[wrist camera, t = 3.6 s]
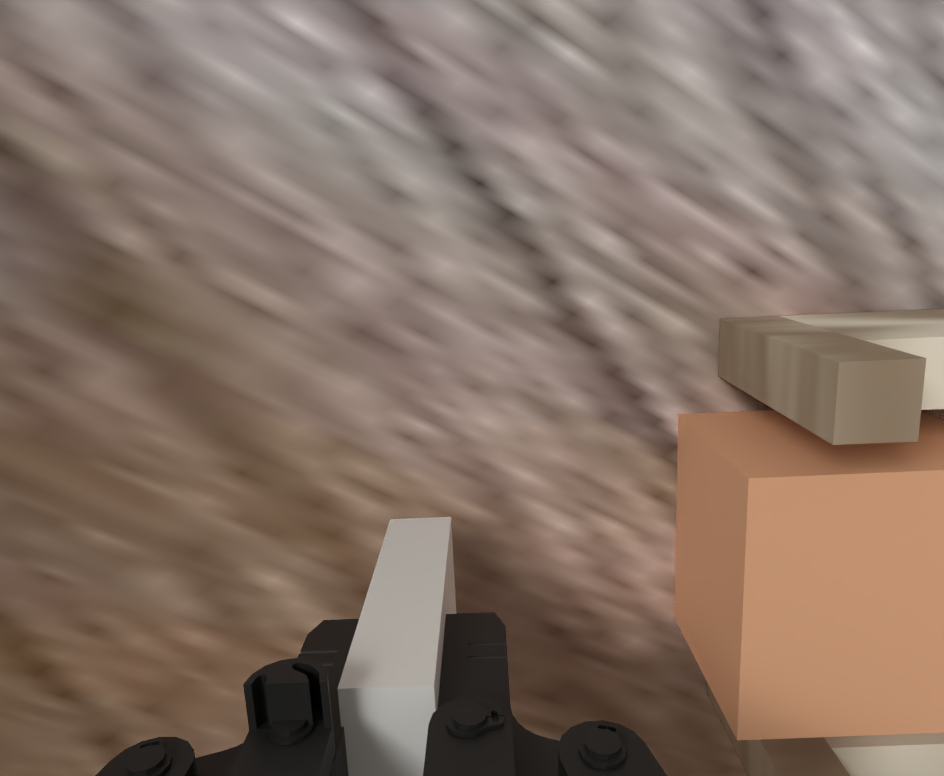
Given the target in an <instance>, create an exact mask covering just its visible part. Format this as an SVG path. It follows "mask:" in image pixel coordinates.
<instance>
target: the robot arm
mask: <svg viewBox="0 0 944 776" xmlns="http://www.w3.org/2000/svg"><path fill="white" fill-rule="evenodd" d="M244 693H245V700H246V708H247V716H248V723H249V733H248V735H247V737H246V739H245V741H244V743H242V744H240V745H239V746H236V747H233V748H230V749H228V750H225V751H221V752H217V753H214V754H210V755H206V756H202V757H198V758H195V754H194V749H193V748H192V747H191V745H190V744H189V743H188V741H185V740H183V739H180V738H177V737H158V738H154V739H150V740H146V741H142V742H140V743H138V744H136V745H134V746H132V747H130V748H128V749H125V750H124V751H123V752H121V753H120V754H119V755H117V756H116V757H115V758H114V759H112V760H111V761H110V762H109V763H108V764H107V765H106V766H105V767H104V768H103V769H102V770H101V771H100V772H99V773H98V774H97V775H96V776H667V775H666V774H665V772H664V771H663V769H662V768H661V766H660V765H659V763H658V762H657V760H656V759H655V757H654V756H653V754H652V753H651V751H650V750H649V748H648V747H647V746H646V744H645V743H644V741H643V740H642V739H641V738H640V737H639V736H638V735H637V734H636V733H635V732H634V731H632V730H630V729H628V728H626V727H624V726H622V725H620V724H616V723H611V722H606V721H588V722H584V723H581V724H578V725H576V726H573V727H571V728H570V729H569V730H568V731H567V732H566V733H565V734H563V735H562V737H561V740H560V741H557V740H552V739H548V738H545V737H541V736H538V735H535V734H533V733H532V732H530V731H528V730H526V729H525V728H523V727H522V726H521V725H520V724H519V723H518V722H517V721H516V719H515V718H514V716H513V715H512V711H511V707H510V695H509V679H508V663H507V648H506V632H505V625H504V624H503V623H502V622H501V620H500V619H499V618H498V617H497V615H496V614H495V613H465V614H456V597H455V579H454V561H453V542H452V524H451V517H437V518H410V519H390V522H389V525H388V528H387V532H386V535H385V538H384V541H383V544H382V548H381V551H380V554H379V557H378V560H377V564H376V567H375V570H374V573H373V576H372V580H371V583H370V586H369V589H368V592H367V596H366V599H365V602H364V605H363V608H362V612H361V615H360V618H359V619H345V620H323V621H322V622H321V623H320V624H319V625H318V626H317V627H316V628H314V629H313V630H312V631H311V632H310V633H309V634H308V635H307V637H306V640H305V642H304V644H303V647H302V649H301V654H299V656H298V658H294V659H287V660H281V661H278V662H275V663H272V664H269V665H267V666H264V667H263V668H261V669H260V670H258V671H257V672H255V673H253V674H252V675H251V676H250V677H249V679H248V680H247V681H246V682H245V683H244Z"/></svg>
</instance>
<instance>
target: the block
mask: <svg viewBox="0 0 944 776" xmlns="http://www.w3.org/2000/svg"><path fill="white" fill-rule="evenodd" d="M674 618H675V620H676V622H677V624H678V626H679V628H680V630H681V632H682V634H683V636H684V638H685V640H686V642H687V644H688V646H689V648H690V650H691V652H692V654H693V656H694V657H695V659H696V661H697V663H698V665H699V667H700V669H701V671H702V673H703V675H704V677H705V679H706V681H707V683H708V685H709V687H710V689H711V691H712V693H713V694H714V696H715V698H716V700H717V702H718V704H719V706H720V708H721V710H722V712H723V714H724V716H725V718H726V720H727V722H728V724H729V726H730V728H731V730H732V732H733V733H734V735H735V737H736V739H737V740H762V739H789V738H815V737H841V736H868V735H894V734H921V733H944V419H941V418H939V417H936V416H934V415H931V414H929V413H926V412H924V411H922V410H921V417H920V427H919V437H918V441H917V442H893V443H869V444H845V445H832V444H831V443H829V442H827V441H826V440H824V439H822V438H821V437H819V436H817V435H816V434H814V433H812V432H811V431H809V430H807V429H806V428H804V427H802V426H801V425H799V424H797V423H796V422H794V421H792V420H791V419H789V418H787V417H786V416H784V415H782V414H781V413H779V412H777V411H776V410H763V411H740V412H717V413H695V414H678V456H677V507H676V558H675V610H674Z"/></svg>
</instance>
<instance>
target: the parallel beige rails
mask: <svg viewBox="0 0 944 776" xmlns="http://www.w3.org/2000/svg"><path fill="white" fill-rule="evenodd" d="M718 376H719V377H721V378H723V379H724V380H726V381H728V382H729V383H731V384H733V385H734V386H736V387H737V388H739V389H741V390H742V391H744V392H746V393H747V394H749V395H751V396H752V397H754V398H756V399H757V400H759V401H761V402H762V403H764V404H766V405H767V406H769V407H771V408H772V409H774V410H776V411H777V412H779V413H781V414H782V415H784V416H786V417H787V418H789V419H791V420H792V421H794V422H796V423H797V424H799V425H801V426H802V427H804V428H806V429H807V430H809V431H811V432H812V433H814V434H816V435H817V436H819V437H821V438H822V439H824V440H826V441H827V442H829V443H831V444H832V445H845V444H869V443H893V442H917V441H918V437H919V427H920V417H921V410H931V409H944V309H927V310H904V311H882V312H859V313H836V314H814V315H791V316H769V317H746V318H724V319H720V336H719V366H718ZM707 695H708V697H709V699H710V701H711V703H712V705H713V707H714V709H715V711H716V713H717V715H718V717H719V719H720V721H721V723H722V725H723V727H724V729H725V731H726V733H727V735H728V737H729V739H730V741H731V743H732V745H733V747H734V749H735V751H736V753H737V755H738V757H739V759H740V761H741V763H742V765H743V767H744V769H745V771H746V773H747V775H748V776H944V733H921V734H894V735H868V736H841V737H815V738H789V739H762V740H737V739H736V737H735V735H734V733H733V732H732V730H731V728H730V726H729V724H728V722H727V720H726V718H725V716H724V714H723V712H722V710H721V708H720V706H719V704H718V702H717V700H716V698H715V696H714V694H713V693H712V691H711V689H710V687H709V685H708V693H707Z"/></svg>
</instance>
